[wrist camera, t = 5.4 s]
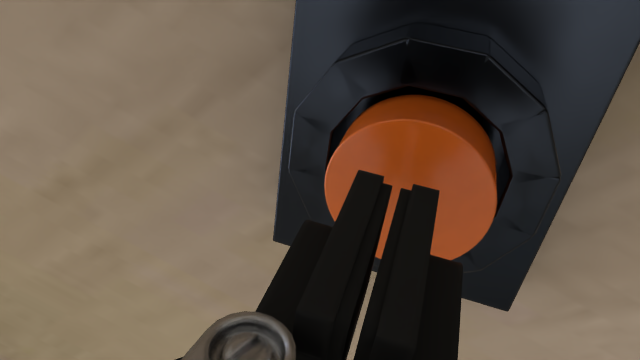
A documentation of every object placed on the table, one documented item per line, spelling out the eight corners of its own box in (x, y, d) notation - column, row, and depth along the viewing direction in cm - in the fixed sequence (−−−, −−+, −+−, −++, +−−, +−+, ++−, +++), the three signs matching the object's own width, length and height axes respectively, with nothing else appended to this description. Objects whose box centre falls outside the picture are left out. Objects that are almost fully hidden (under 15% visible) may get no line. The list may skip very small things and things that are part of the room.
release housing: (320, -79, 14) (278, -72, 11) (648, -23, 13) (695, 2, 10) (287, 217, 20) (253, 271, 17) (507, 281, 18) (510, 352, 16)
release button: (353, 77, 13) (336, 100, 12) (519, 115, 12) (523, 145, 11) (330, 208, 15) (314, 240, 14) (468, 247, 15) (467, 286, 13)
